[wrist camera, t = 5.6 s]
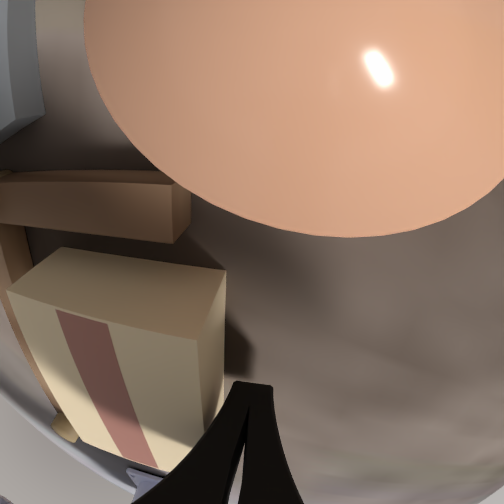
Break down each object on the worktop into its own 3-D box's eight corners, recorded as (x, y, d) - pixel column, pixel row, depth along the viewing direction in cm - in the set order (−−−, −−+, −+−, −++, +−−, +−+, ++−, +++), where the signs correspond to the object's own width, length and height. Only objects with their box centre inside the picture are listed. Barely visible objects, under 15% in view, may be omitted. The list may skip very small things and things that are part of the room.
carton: (224, 422, 14) (209, 481, 11) (109, 393, 14) (82, 441, 11) (228, 266, 10) (197, 340, 7) (65, 243, 10) (5, 290, 7)
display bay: (205, 449, 15) (195, 484, 13) (73, 408, 16) (57, 435, 13) (191, 167, 8) (153, 189, 6) (-6, 170, 9) (-49, 188, 7)
